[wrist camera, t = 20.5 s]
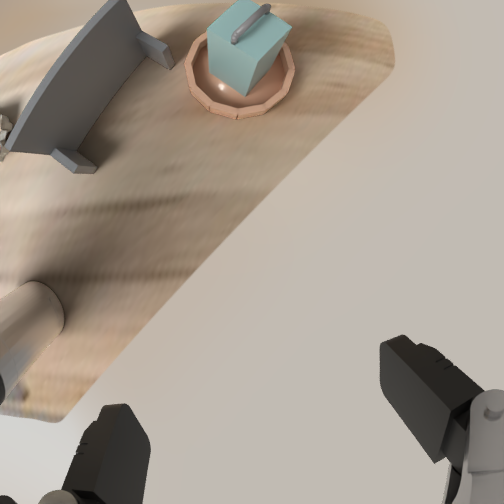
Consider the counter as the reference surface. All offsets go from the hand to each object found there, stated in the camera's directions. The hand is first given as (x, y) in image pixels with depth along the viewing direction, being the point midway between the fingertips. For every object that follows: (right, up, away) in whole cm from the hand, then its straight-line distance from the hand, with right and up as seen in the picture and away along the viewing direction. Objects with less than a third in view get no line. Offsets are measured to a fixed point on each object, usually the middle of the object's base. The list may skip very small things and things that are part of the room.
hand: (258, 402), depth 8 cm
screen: (-17, +22, +24) cm, 37 cm away
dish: (-2, +27, +25) cm, 36 cm away
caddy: (-2, +26, +24) cm, 36 cm away
